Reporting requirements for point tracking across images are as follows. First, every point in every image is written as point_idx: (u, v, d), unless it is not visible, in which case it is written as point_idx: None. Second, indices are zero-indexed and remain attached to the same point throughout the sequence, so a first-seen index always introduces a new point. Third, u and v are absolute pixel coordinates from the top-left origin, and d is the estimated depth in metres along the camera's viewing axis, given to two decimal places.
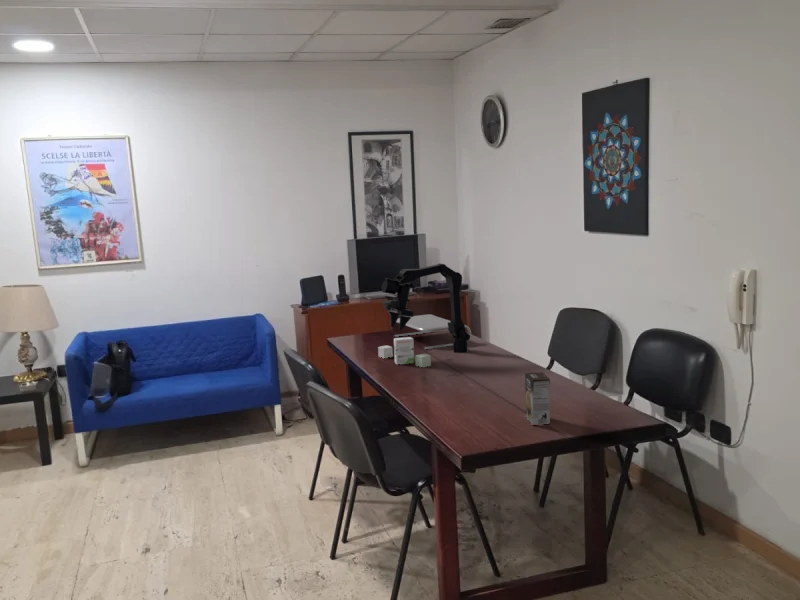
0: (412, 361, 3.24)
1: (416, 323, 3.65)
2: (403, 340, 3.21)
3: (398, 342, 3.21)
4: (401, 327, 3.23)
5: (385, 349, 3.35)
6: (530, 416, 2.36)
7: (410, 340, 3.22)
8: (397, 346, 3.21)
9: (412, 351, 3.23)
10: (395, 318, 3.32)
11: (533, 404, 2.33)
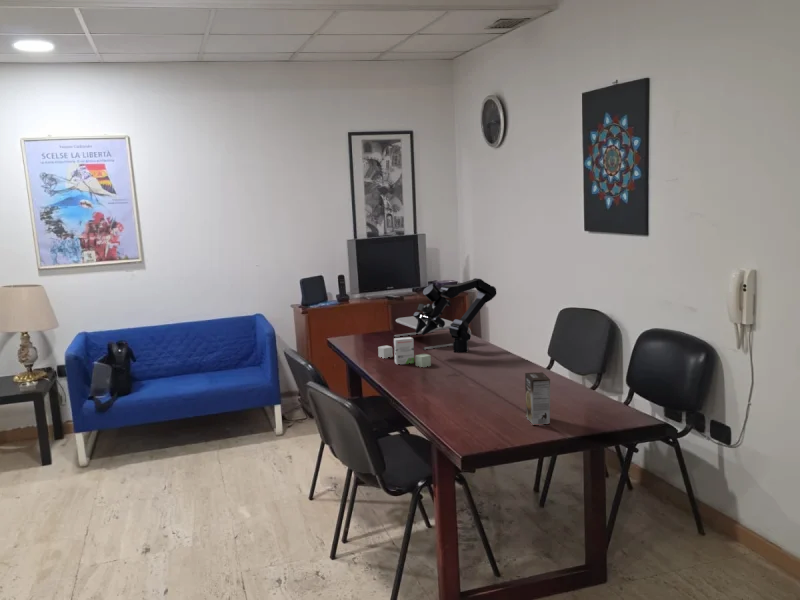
0: (412, 361, 3.24)
1: (416, 323, 3.64)
2: (403, 340, 3.21)
3: (398, 342, 3.21)
4: (424, 332, 3.26)
5: (385, 349, 3.35)
6: (530, 416, 2.36)
7: (410, 340, 3.22)
8: (397, 346, 3.21)
9: (412, 351, 3.23)
10: (421, 326, 3.32)
11: (533, 404, 2.33)
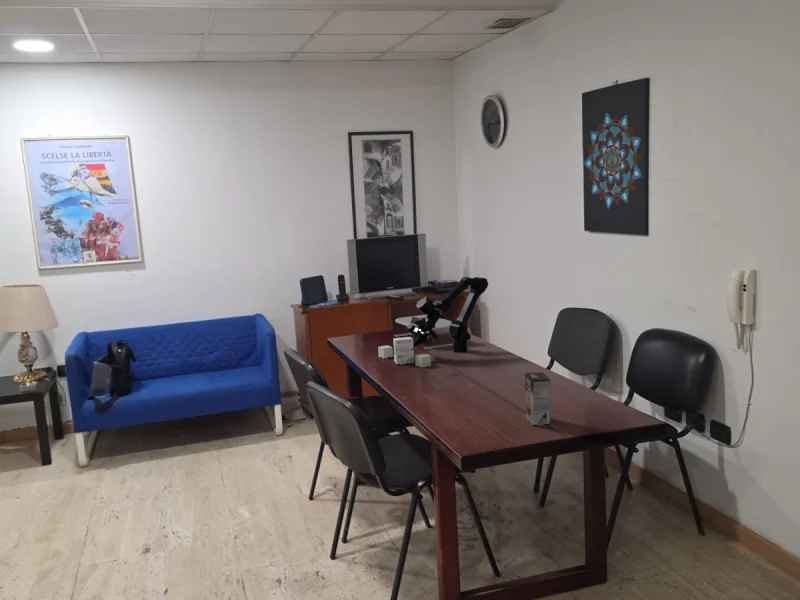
0: (412, 361, 3.24)
1: None
2: (403, 340, 3.21)
3: (397, 342, 3.21)
4: (414, 344, 3.27)
5: (385, 349, 3.35)
6: (530, 416, 2.36)
7: (410, 340, 3.22)
8: (397, 346, 3.21)
9: (412, 351, 3.23)
10: None
11: (533, 404, 2.33)
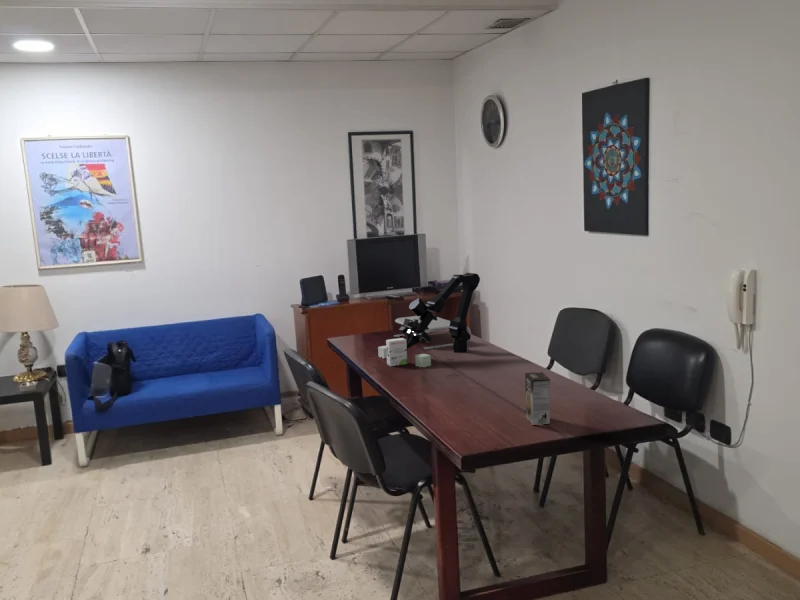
0: (405, 362, 3.22)
1: None
2: (396, 341, 3.19)
3: (391, 344, 3.18)
4: (407, 346, 3.24)
5: (385, 349, 3.35)
6: (530, 416, 2.36)
7: (403, 341, 3.20)
8: (391, 347, 3.18)
9: (405, 352, 3.21)
10: None
11: (533, 404, 2.33)
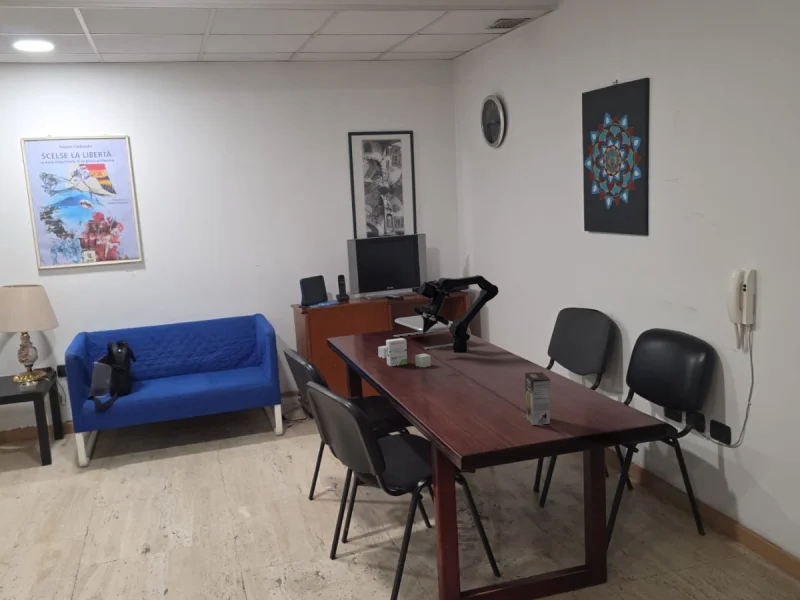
0: (405, 362, 3.22)
1: (415, 323, 3.64)
2: (396, 341, 3.19)
3: (391, 344, 3.18)
4: (426, 330, 3.35)
5: (385, 349, 3.35)
6: (530, 416, 2.36)
7: (403, 341, 3.20)
8: (390, 347, 3.19)
9: (405, 352, 3.21)
10: None
11: (533, 404, 2.33)
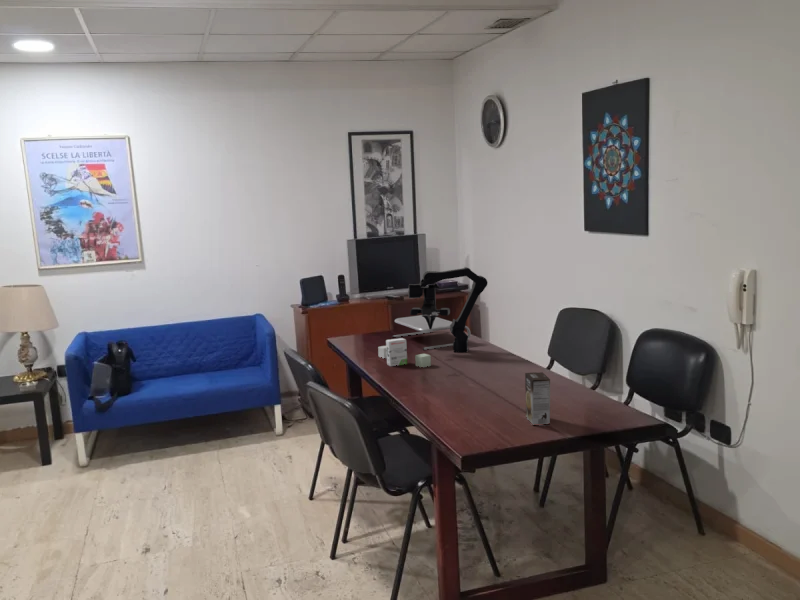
0: (405, 362, 3.22)
1: (415, 323, 3.64)
2: (396, 341, 3.19)
3: (391, 344, 3.18)
4: None
5: (385, 349, 3.35)
6: (530, 416, 2.36)
7: (403, 341, 3.20)
8: (390, 347, 3.19)
9: (405, 352, 3.21)
10: (430, 320, 3.42)
11: (533, 404, 2.33)
